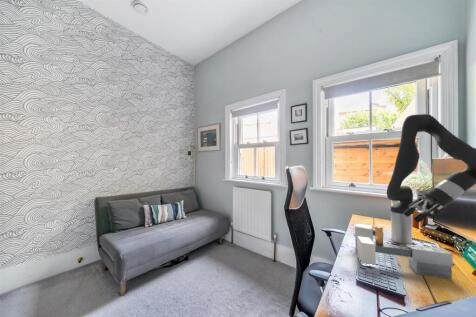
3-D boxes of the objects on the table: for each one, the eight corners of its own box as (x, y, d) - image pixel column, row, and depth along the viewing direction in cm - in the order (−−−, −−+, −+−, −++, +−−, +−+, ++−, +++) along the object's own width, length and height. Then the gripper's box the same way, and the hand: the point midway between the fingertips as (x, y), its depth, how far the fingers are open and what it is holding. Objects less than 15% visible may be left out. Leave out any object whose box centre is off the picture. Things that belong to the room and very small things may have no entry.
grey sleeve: (406, 265, 82) (405, 243, 82) (443, 271, 78) (442, 248, 78) (413, 273, 76) (413, 249, 77) (454, 280, 72) (453, 254, 72)
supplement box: (373, 249, 98) (373, 225, 98) (371, 254, 93) (371, 229, 93) (357, 245, 103) (357, 222, 103) (355, 249, 98) (354, 226, 98)
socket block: (357, 257, 90) (357, 236, 90) (369, 259, 88) (369, 237, 88) (362, 265, 82) (362, 242, 82) (375, 268, 80) (375, 244, 81)
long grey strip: (364, 248, 87) (363, 224, 87) (417, 255, 80) (417, 230, 80) (366, 250, 84) (365, 227, 84) (422, 258, 77) (421, 232, 77)
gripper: (424, 184, 84) (394, 207, 87) (447, 188, 70) (410, 215, 74) (440, 197, 82) (409, 219, 85) (466, 203, 68) (428, 230, 72)
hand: (409, 217), depth 80 cm, fingers open, 8 cm apart
